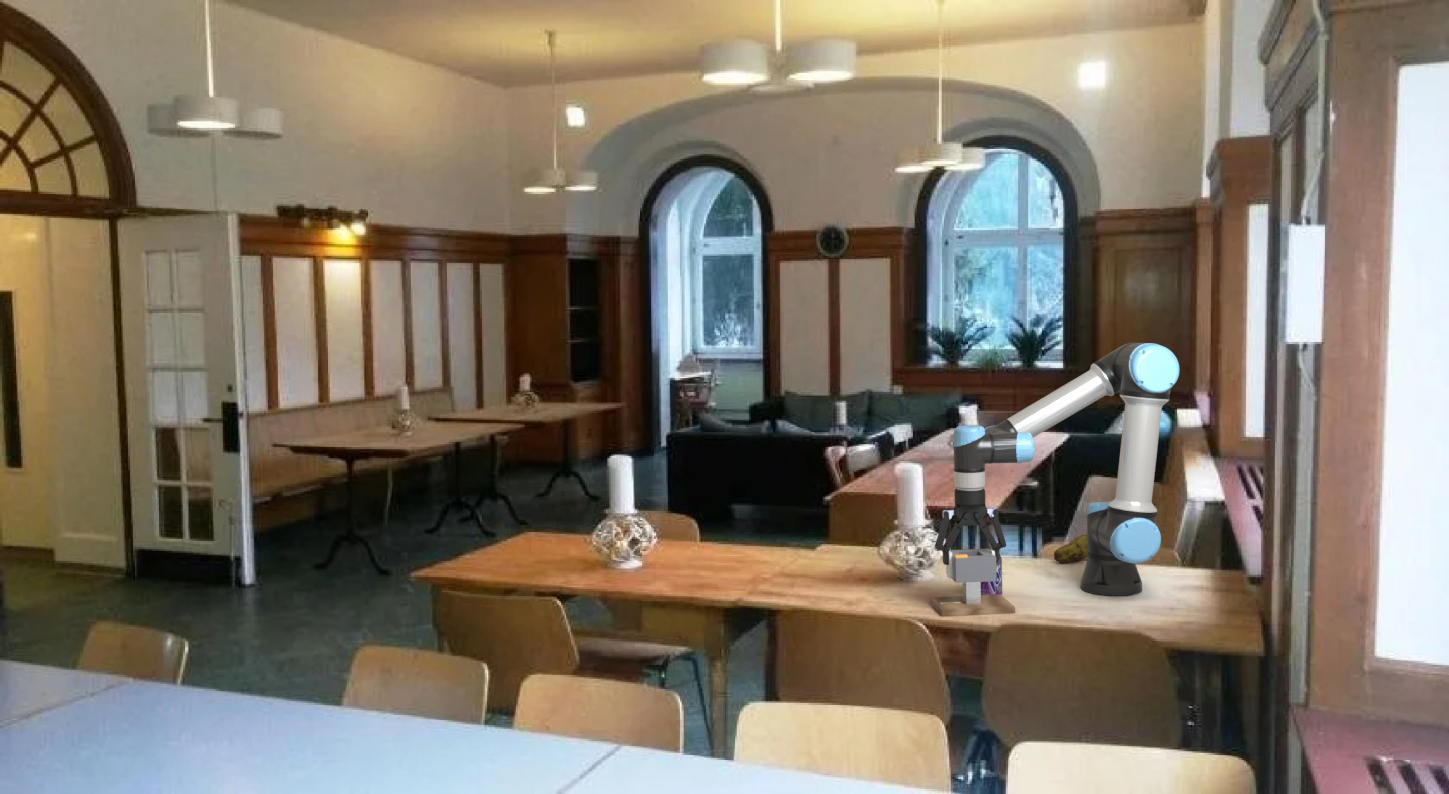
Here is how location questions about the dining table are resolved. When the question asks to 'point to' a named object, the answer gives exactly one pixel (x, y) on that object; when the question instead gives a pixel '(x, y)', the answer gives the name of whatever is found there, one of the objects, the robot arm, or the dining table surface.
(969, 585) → the shaft
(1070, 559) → the potato
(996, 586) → the beverage can
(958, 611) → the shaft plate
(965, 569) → the grey open top crate
